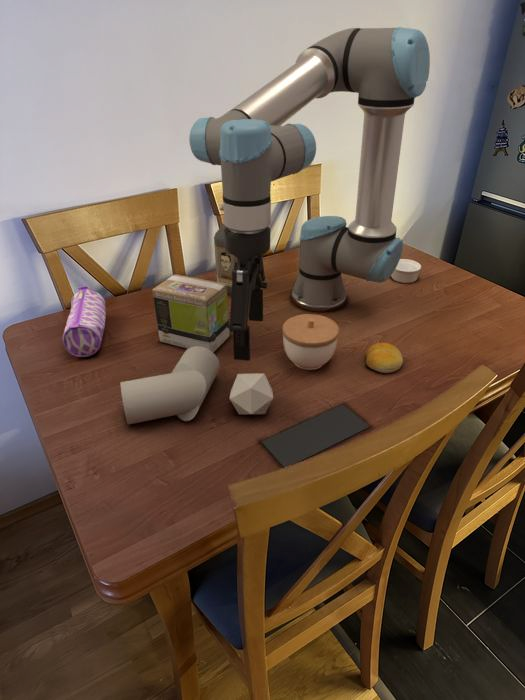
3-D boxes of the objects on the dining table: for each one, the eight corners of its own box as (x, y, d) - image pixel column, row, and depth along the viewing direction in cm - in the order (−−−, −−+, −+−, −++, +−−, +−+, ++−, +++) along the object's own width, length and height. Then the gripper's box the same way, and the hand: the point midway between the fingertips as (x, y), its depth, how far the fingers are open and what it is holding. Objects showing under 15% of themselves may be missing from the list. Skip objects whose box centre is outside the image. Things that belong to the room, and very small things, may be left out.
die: (257, 433, 95) (284, 391, 93) (217, 411, 94) (244, 367, 92) (257, 417, 104) (282, 378, 102) (221, 396, 102) (245, 357, 101)
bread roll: (365, 372, 110) (367, 358, 108) (365, 351, 118) (367, 336, 115) (403, 376, 109) (405, 361, 107) (401, 354, 116) (403, 340, 114)
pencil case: (73, 317, 132) (65, 285, 127) (108, 313, 134) (102, 281, 129) (66, 363, 114) (56, 328, 109) (107, 357, 116) (100, 323, 111)
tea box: (230, 336, 124) (228, 283, 115) (211, 356, 116) (206, 301, 108) (180, 323, 129) (174, 271, 121) (158, 342, 121) (150, 288, 113)
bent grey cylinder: (199, 440, 91) (229, 376, 107) (182, 395, 86) (216, 335, 102) (118, 440, 97) (158, 380, 113) (97, 398, 91) (142, 341, 107)
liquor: (229, 279, 151) (224, 179, 134) (255, 285, 147) (253, 183, 131) (214, 291, 144) (206, 188, 127) (241, 298, 141) (237, 192, 124)
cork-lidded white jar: (321, 383, 107) (324, 341, 101) (271, 366, 113) (272, 325, 106) (344, 355, 116) (349, 315, 110) (298, 340, 122) (299, 301, 115)
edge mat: (285, 469, 87) (285, 468, 87) (261, 442, 92) (261, 441, 92) (369, 427, 95) (369, 426, 95) (343, 404, 101) (343, 404, 101)
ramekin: (422, 284, 147) (424, 271, 145) (392, 284, 147) (394, 271, 145) (414, 271, 154) (417, 258, 152) (386, 271, 155) (388, 258, 152)
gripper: (240, 202, 89) (242, 305, 101) (204, 254, 69) (212, 376, 81) (280, 204, 88) (278, 307, 100) (256, 258, 68) (257, 380, 80)
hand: (249, 338), depth 90 cm, fingers open, 13 cm apart
